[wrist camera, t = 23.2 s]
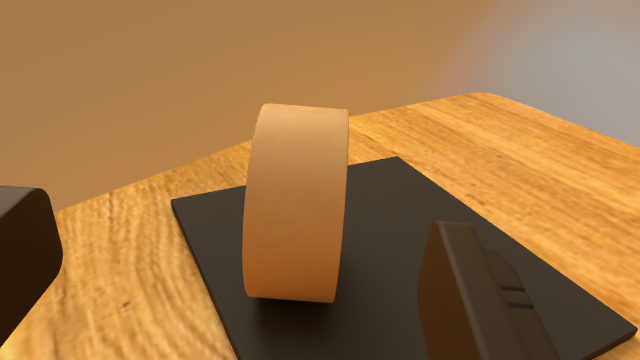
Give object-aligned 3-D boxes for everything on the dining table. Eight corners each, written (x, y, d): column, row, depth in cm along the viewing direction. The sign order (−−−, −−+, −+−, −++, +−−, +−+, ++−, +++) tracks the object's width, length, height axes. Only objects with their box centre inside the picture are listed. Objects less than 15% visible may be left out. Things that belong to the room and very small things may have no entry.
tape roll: (235, 335, 20) (245, 106, 18) (265, 255, 30) (274, 100, 28) (334, 343, 20) (355, 115, 18) (332, 260, 30) (345, 106, 28)
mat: (171, 206, 33) (170, 199, 33) (396, 161, 42) (397, 155, 41) (307, 518, 16) (308, 510, 16) (634, 336, 25) (638, 328, 25)
